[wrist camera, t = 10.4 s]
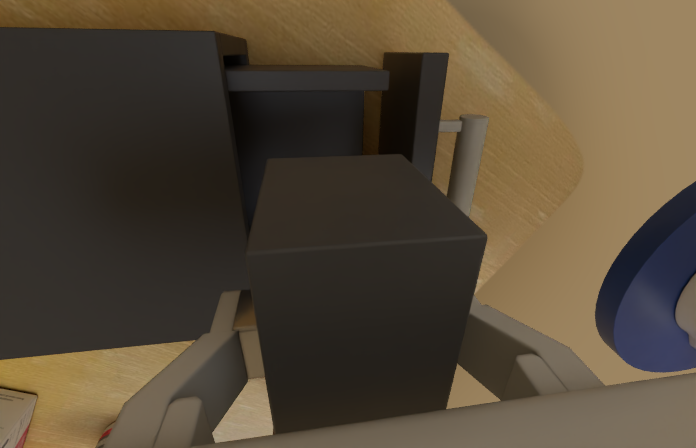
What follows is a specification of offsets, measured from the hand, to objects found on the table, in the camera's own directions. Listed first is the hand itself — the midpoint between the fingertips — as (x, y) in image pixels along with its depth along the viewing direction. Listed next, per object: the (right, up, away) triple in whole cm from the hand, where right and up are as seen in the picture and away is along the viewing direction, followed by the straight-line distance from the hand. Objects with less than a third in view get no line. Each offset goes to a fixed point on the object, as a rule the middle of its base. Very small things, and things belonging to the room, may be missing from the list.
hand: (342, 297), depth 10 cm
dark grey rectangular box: (0, +1, +1) cm, 2 cm away
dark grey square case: (-14, +6, +11) cm, 19 cm away
